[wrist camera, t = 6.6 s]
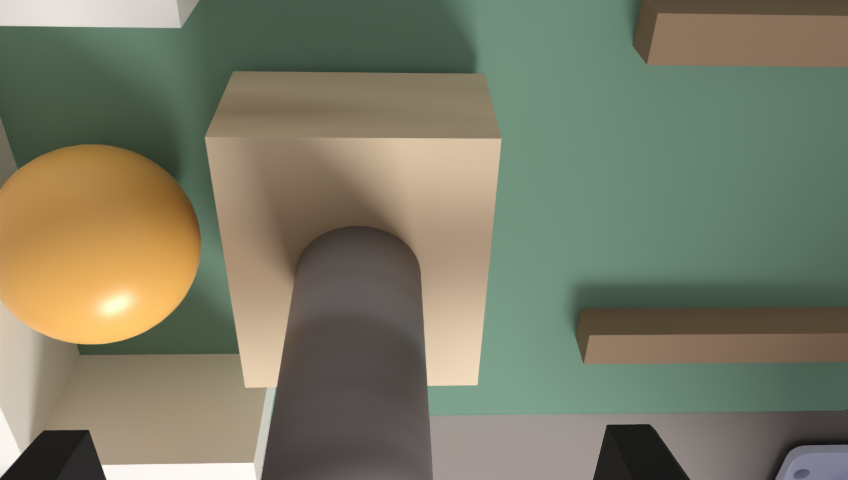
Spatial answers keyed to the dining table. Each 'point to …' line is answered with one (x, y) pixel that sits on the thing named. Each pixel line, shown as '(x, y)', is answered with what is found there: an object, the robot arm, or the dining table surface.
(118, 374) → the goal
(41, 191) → the ball
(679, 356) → the pitch
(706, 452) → the dining table surface
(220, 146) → the beige block
